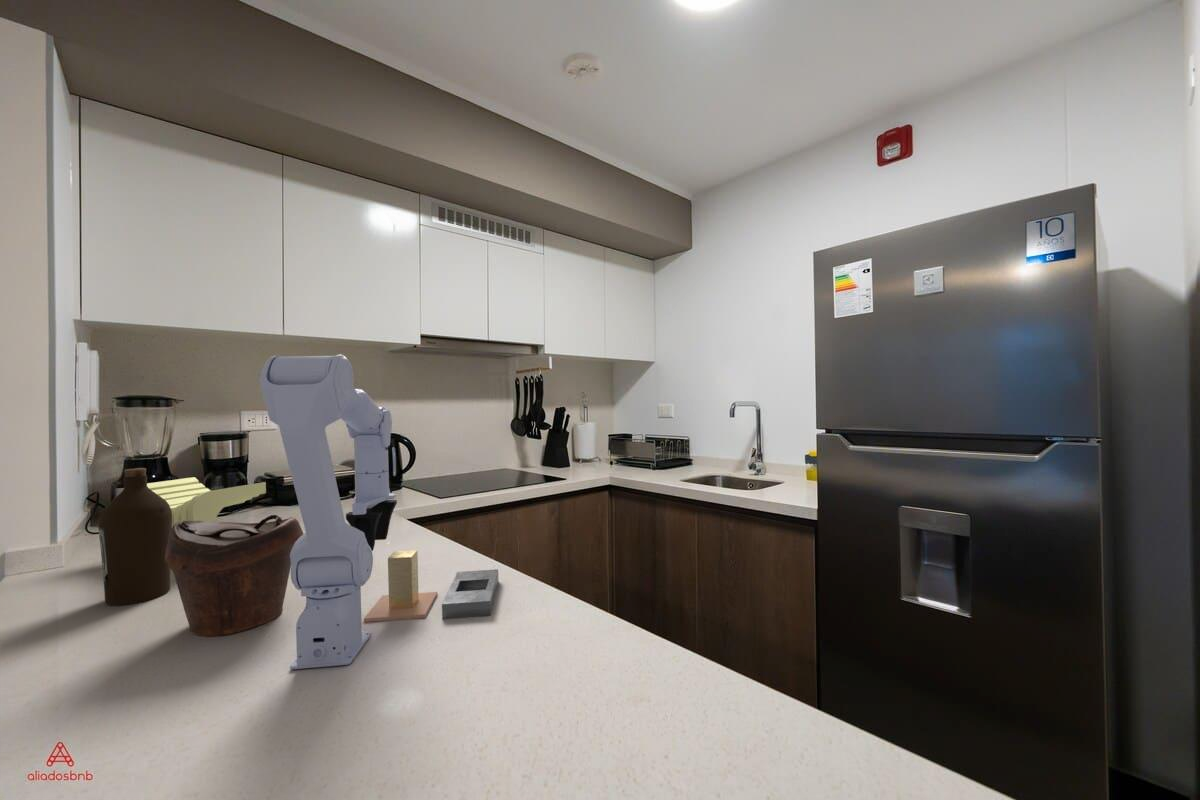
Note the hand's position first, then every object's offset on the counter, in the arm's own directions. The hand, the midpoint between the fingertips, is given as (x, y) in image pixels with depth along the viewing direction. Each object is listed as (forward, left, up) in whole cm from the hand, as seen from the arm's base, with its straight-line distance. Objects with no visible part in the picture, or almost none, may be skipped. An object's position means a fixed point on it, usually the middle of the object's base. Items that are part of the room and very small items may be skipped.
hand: (373, 545), depth 93 cm
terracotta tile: (-4, -6, -10) cm, 13 cm away
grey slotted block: (-2, -18, -10) cm, 21 cm away
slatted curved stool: (+38, +54, -11) cm, 67 cm away
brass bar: (-4, -6, -10) cm, 12 cm away
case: (-4, +21, -11) cm, 24 cm away
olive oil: (+11, +48, -11) cm, 50 cm away
